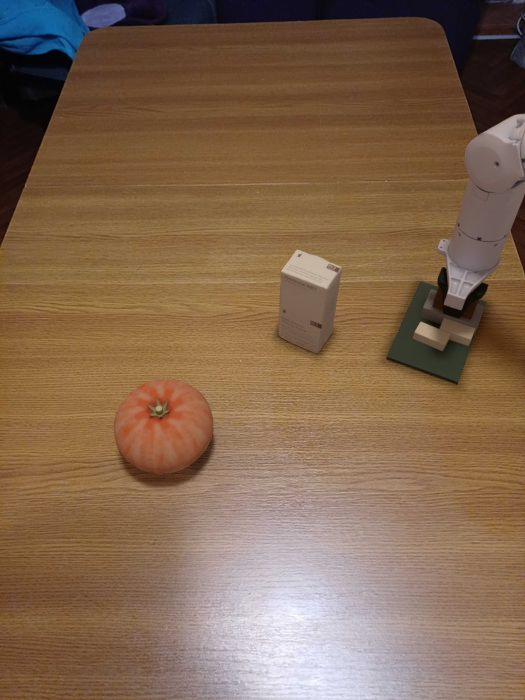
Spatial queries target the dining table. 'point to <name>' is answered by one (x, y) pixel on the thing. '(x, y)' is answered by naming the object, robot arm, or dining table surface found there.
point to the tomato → (163, 426)
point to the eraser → (435, 314)
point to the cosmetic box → (308, 300)
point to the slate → (422, 355)
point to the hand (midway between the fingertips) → (455, 305)
